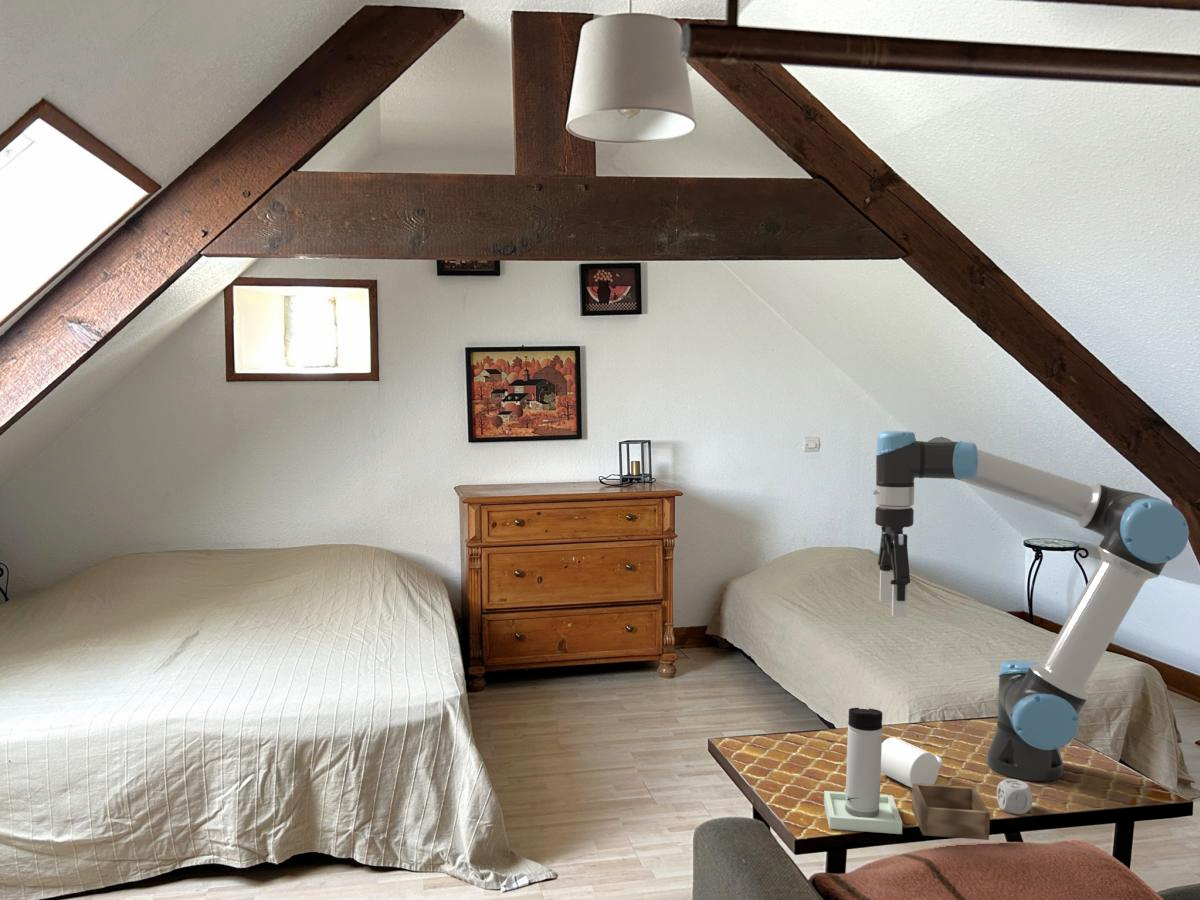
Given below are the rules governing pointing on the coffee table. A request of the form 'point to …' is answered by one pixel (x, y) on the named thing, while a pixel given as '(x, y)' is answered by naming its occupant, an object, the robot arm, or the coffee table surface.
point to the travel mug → (863, 762)
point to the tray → (843, 820)
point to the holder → (950, 811)
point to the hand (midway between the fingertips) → (892, 608)
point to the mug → (908, 763)
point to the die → (1014, 796)
